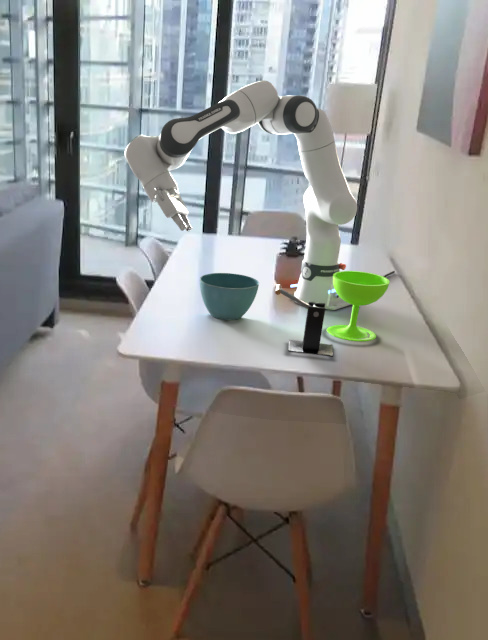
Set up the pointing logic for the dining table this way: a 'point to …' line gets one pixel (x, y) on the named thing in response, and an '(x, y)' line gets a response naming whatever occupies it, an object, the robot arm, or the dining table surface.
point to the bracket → (312, 333)
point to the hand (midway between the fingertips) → (187, 230)
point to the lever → (291, 296)
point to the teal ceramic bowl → (228, 294)
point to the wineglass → (357, 300)
